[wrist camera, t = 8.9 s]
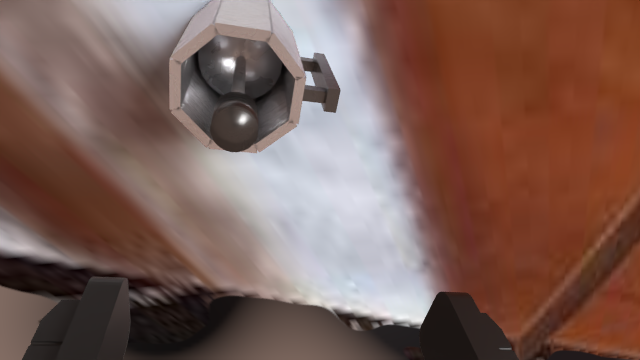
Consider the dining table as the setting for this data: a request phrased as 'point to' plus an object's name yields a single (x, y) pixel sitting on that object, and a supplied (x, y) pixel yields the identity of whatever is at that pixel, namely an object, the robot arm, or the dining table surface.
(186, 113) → the carafe
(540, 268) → the dining table surface
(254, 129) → the plunger
